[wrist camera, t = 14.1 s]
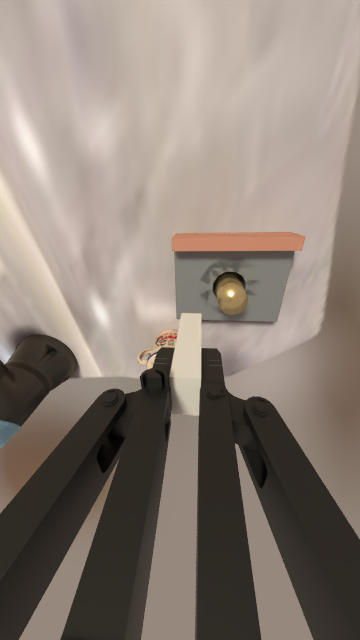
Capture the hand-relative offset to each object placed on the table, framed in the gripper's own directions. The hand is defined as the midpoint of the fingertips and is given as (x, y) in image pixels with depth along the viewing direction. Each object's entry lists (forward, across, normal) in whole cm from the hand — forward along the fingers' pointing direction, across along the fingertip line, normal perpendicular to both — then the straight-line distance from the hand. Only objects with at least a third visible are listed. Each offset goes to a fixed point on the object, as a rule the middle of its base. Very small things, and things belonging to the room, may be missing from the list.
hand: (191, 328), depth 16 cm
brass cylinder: (+26, +6, -5) cm, 28 cm away
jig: (+26, +6, -5) cm, 28 cm away
